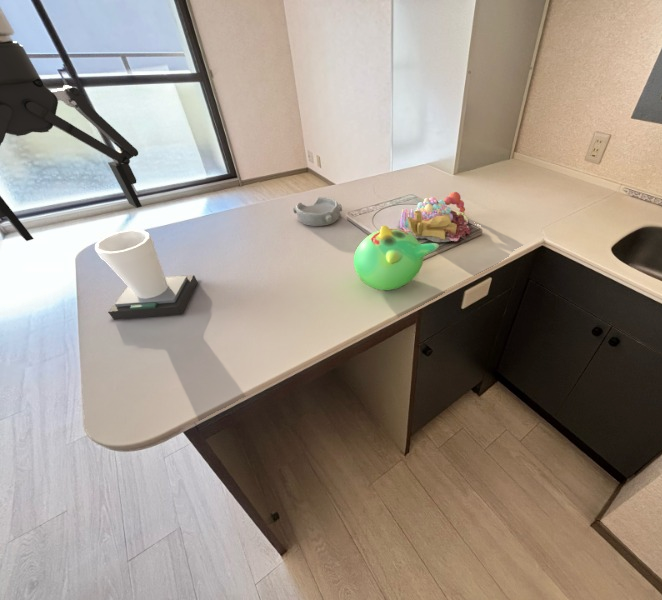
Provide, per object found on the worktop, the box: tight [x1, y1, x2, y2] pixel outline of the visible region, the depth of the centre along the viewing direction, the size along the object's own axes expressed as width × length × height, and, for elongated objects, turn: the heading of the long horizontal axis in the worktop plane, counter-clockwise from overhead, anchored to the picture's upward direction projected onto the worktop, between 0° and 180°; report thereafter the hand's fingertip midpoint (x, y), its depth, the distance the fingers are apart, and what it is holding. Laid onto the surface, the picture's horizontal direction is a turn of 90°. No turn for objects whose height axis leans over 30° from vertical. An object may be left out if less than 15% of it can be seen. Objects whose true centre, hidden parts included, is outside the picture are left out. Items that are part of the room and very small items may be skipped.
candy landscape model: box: [399, 191, 472, 243], centre depth 107 cm, size 25×24×9 cm
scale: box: [107, 274, 198, 321], centre depth 76 cm, size 14×12×3 cm
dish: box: [292, 196, 343, 227], centre depth 110 cm, size 14×14×5 cm
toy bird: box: [353, 224, 440, 291], centre depth 81 cm, size 18×17×15 cm
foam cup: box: [94, 229, 168, 299], centre depth 71 cm, size 10×9×13 cm
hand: (86, 219), depth 49 cm, fingers open, 13 cm apart
